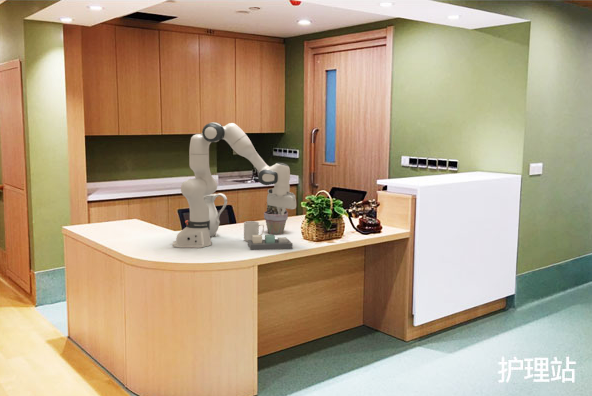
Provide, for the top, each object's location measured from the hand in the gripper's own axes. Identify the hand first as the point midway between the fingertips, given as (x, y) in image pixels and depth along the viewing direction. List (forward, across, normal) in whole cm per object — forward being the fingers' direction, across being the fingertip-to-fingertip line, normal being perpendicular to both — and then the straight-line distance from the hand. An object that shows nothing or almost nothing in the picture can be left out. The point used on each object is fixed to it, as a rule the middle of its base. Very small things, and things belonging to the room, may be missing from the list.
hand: (281, 214), depth 343 cm
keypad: (+19, +3, +5) cm, 20 cm away
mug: (+19, +22, 0) cm, 29 cm away
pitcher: (+19, +50, +11) cm, 55 cm away
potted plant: (+19, +30, -28) cm, 45 cm away
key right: (+18, -1, -1) cm, 18 cm away
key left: (+16, +8, +11) cm, 21 cm away
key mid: (+16, +4, +5) cm, 17 cm away
